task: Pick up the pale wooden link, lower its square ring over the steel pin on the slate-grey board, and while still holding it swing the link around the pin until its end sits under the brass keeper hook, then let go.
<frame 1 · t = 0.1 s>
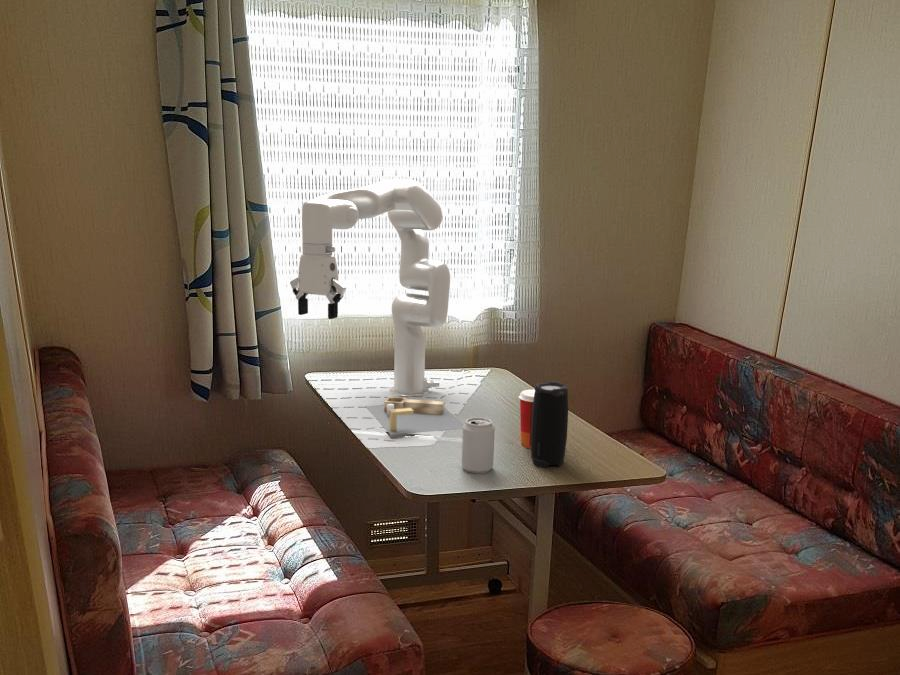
hand: (317, 316, 211), 31 cm above the table, tool pointing down, fingers open, 9 cm apart
portable speaker: (547, 463, 198), on the table
can: (477, 469, 193), on the table
slate base: (415, 419, 229), on the table
paper cup: (531, 445, 210), on the table
wooden link: (436, 412, 233), point 1 cm above the table, touching slate base
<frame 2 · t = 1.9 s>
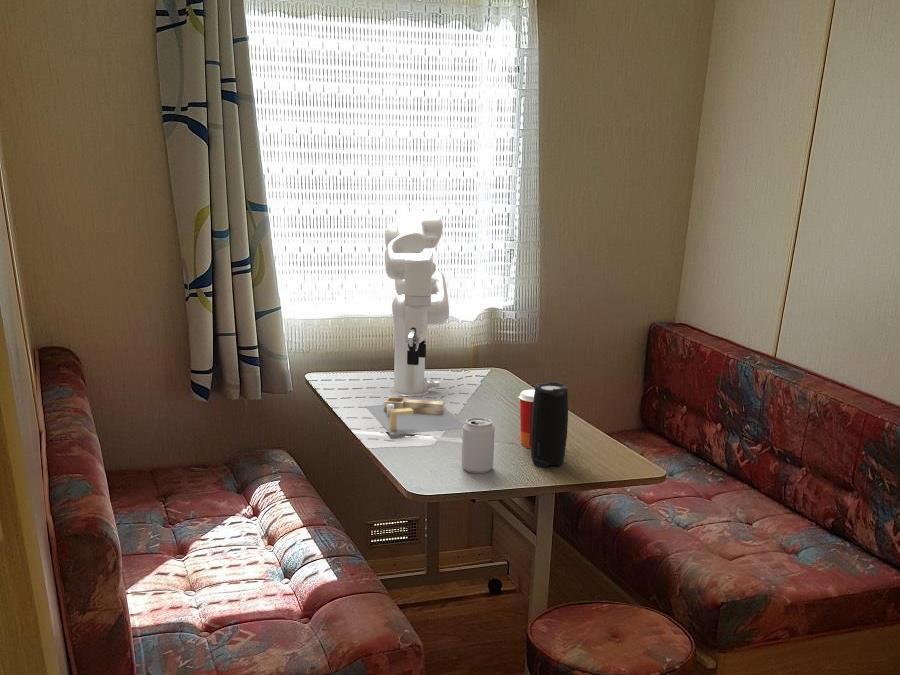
hand: (416, 360, 230), 16 cm above the table, tool pointing down, fingers open, 9 cm apart
nothing on the table moved.
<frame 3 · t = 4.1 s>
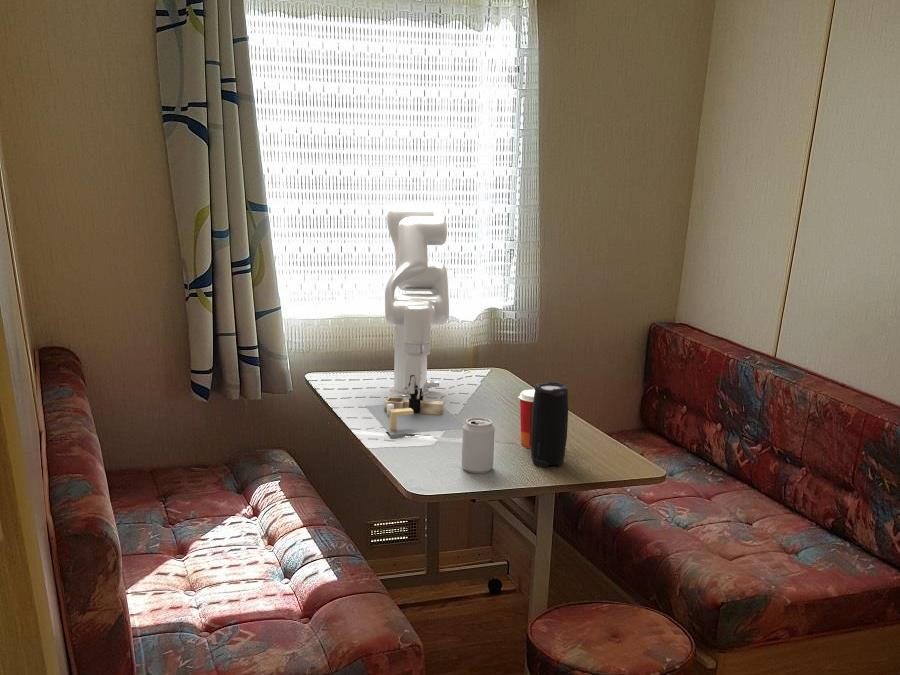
hand: (415, 409, 233), 1 cm above the table, tool pointing down, fingers closed on wooden link, 3 cm apart
wooden link: (436, 412, 233), point 1 cm above the table, touching gripper
everything else where it was.
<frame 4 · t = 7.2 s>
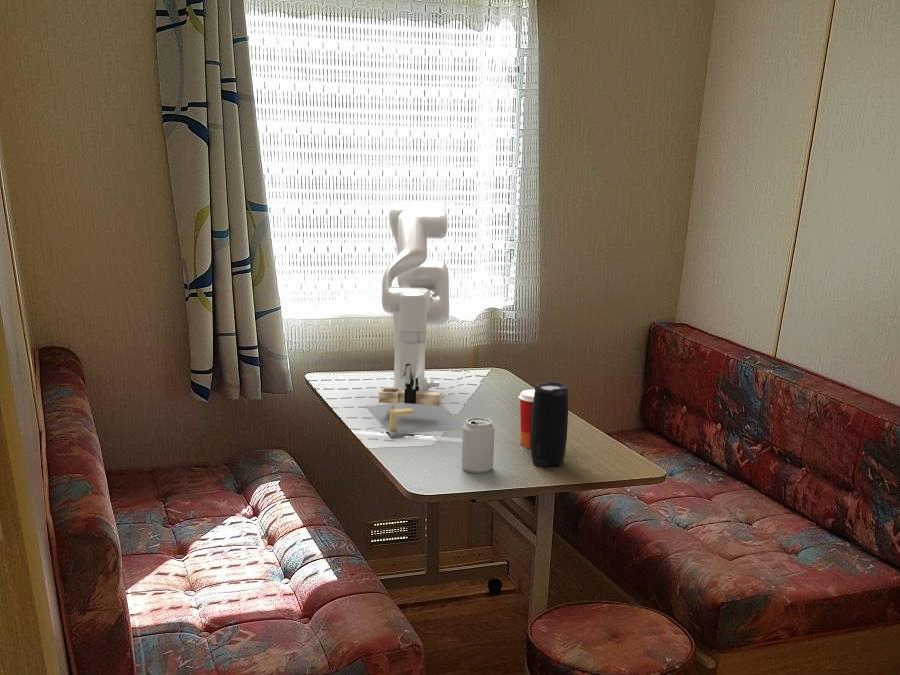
hand: (411, 400, 226), 6 cm above the table, tool pointing down, fingers closed on wooden link, 3 cm apart
wooden link: (432, 404, 225), point 5 cm above the table, touching gripper
everything else where it was.
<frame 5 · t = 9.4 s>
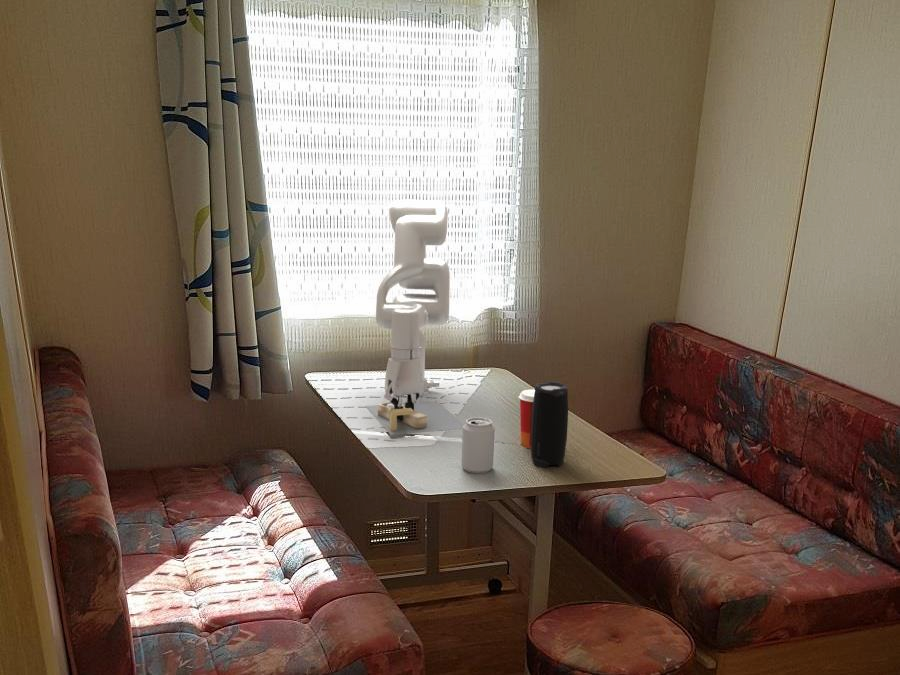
hand: (404, 417, 224), 2 cm above the table, tool pointing down, fingers closed on wooden link, 3 cm apart
wooden link: (417, 425, 220), point 1 cm above the table, touching gripper
everything else where it was.
when the fingers open (2 cm above the table, at t = 10.8 s): wooden link stays where it is, resting on slate base.
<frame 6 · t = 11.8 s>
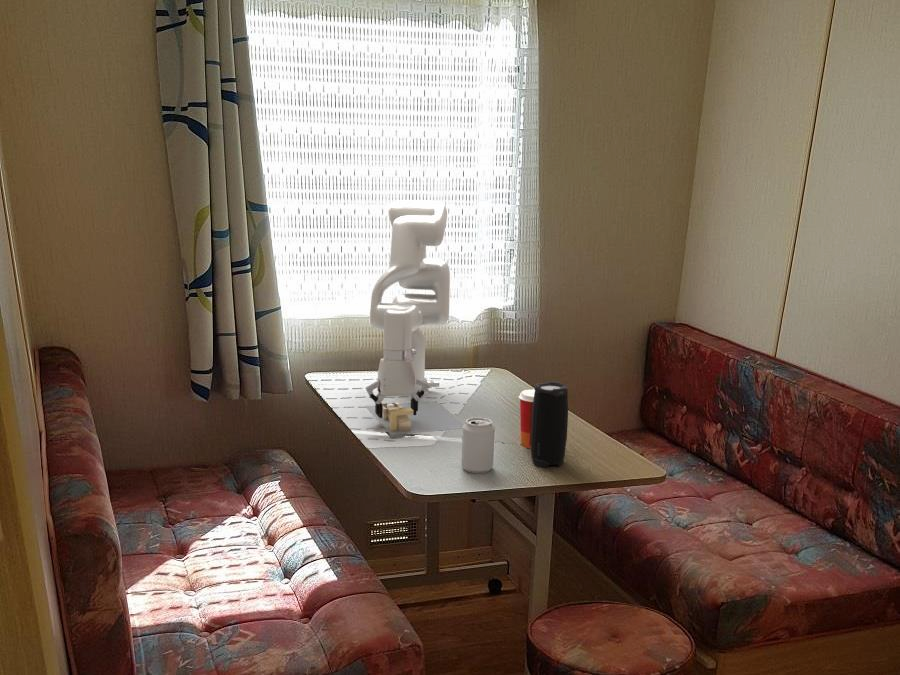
hand: (396, 415, 223), 3 cm above the table, tool pointing down, fingers open, 9 cm apart
wooden link: (403, 428, 218), point 1 cm above the table, touching slate base
everything else where it was.
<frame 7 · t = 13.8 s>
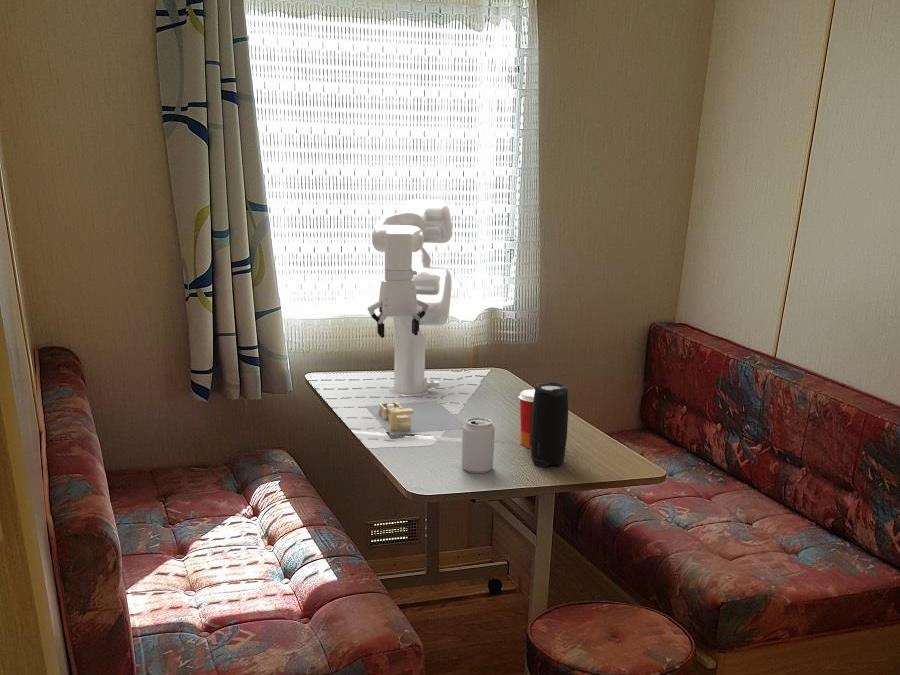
hand: (398, 335, 227), 24 cm above the table, tool pointing down, fingers open, 9 cm apart
nothing on the table moved.
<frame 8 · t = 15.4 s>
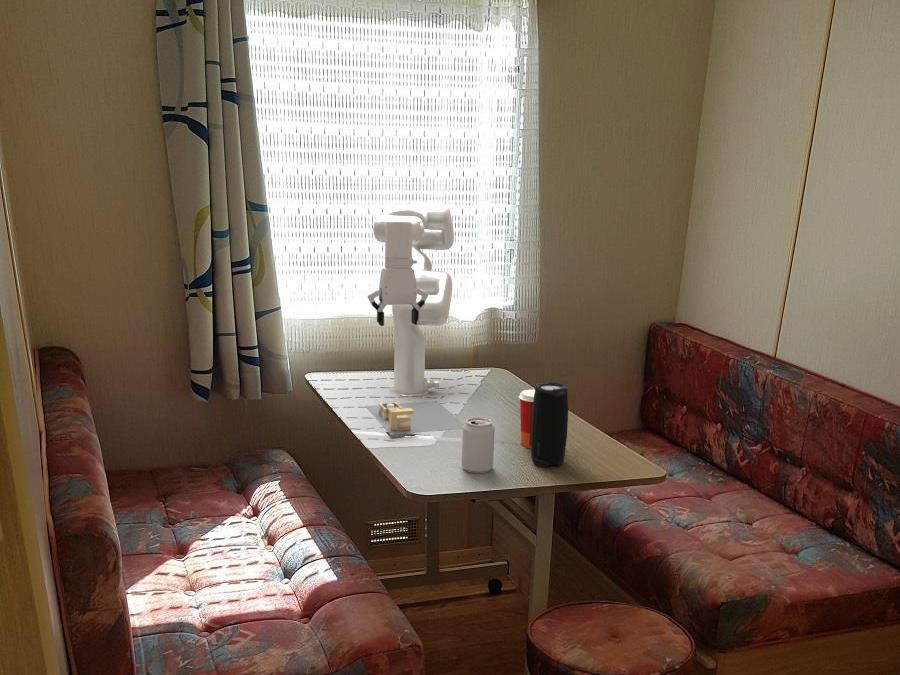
hand: (397, 324, 228), 26 cm above the table, tool pointing down, fingers open, 9 cm apart
nothing on the table moved.
at the end: wooden link 0.0 cm from the target spot, point 1.0 cm above the table; wooden link tilted 0°; the gripper is holding nothing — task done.
